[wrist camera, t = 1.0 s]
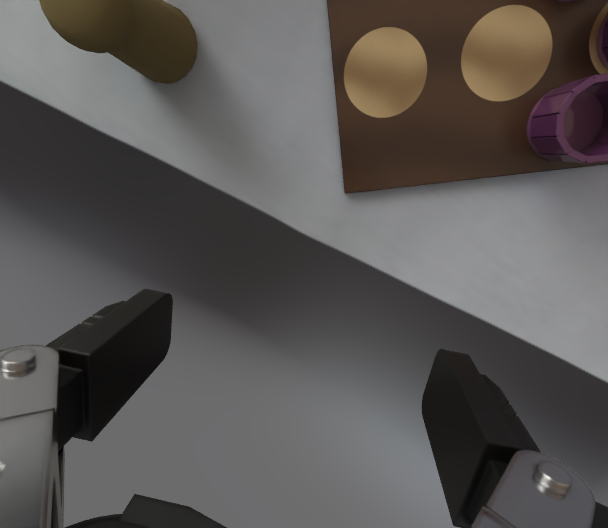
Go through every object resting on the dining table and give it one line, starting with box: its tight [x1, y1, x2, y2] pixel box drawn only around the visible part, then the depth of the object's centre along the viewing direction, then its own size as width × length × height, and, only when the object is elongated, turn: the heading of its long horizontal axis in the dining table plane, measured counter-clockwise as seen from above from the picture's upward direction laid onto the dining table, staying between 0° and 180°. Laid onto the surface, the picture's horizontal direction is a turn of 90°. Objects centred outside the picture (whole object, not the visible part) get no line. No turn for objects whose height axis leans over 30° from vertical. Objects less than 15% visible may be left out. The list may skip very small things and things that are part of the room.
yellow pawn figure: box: [39, 0, 197, 84], centre depth 26 cm, size 6×6×11 cm
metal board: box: [327, 0, 608, 194], centre depth 28 cm, size 18×26×1 cm
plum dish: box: [527, 73, 608, 164], centre depth 27 cm, size 6×6×4 cm
